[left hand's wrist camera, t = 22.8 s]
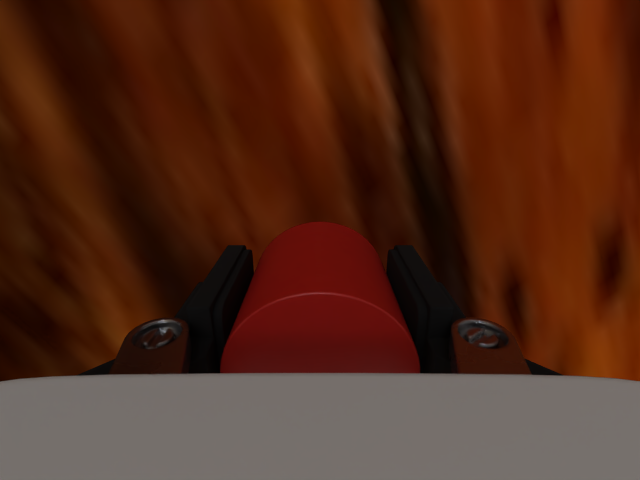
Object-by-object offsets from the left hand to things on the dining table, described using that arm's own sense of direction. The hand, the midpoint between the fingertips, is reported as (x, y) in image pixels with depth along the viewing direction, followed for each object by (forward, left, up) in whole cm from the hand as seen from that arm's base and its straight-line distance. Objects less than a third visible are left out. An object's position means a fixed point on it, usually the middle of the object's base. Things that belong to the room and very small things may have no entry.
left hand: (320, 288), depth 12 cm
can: (0, 0, 0) cm, 0 cm away
